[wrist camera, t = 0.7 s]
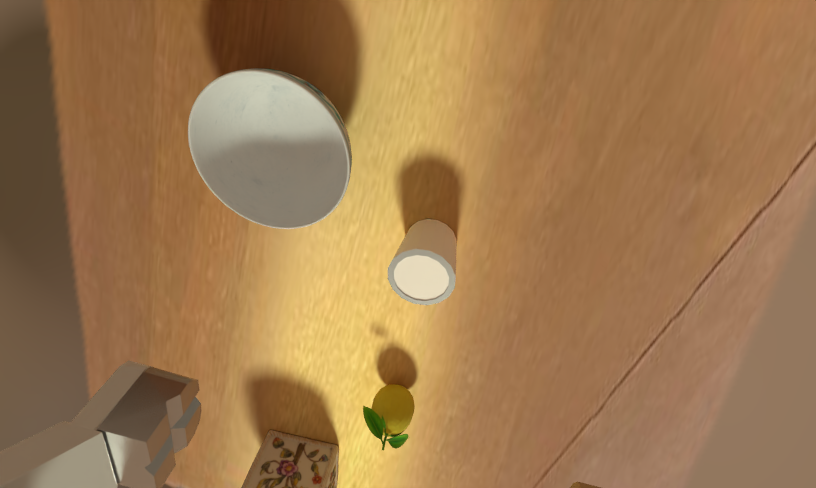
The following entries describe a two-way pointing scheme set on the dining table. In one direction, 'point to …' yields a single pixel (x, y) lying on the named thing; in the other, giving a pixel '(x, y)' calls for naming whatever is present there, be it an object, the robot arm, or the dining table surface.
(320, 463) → the decorative jar
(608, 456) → the dining table surface
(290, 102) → the chinaware
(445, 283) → the shot glass
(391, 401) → the lemon
